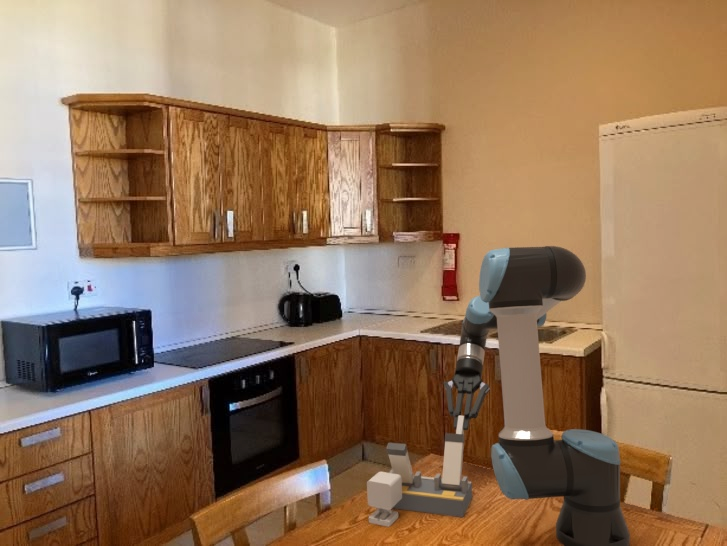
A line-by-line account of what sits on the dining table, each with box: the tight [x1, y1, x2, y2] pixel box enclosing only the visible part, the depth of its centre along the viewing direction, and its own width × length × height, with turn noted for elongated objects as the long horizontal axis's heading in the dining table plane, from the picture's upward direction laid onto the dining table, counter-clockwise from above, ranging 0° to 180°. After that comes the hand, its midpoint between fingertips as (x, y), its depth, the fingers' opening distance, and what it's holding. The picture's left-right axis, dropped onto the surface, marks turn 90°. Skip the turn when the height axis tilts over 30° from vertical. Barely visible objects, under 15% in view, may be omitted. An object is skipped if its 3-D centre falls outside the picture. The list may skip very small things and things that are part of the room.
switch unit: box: [388, 468, 473, 518], centre depth 158 cm, size 20×11×7 cm, turn 69°
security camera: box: [366, 471, 402, 528], centre depth 150 cm, size 6×7×10 cm
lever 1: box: [385, 442, 414, 485], centre depth 157 cm, size 5×2×13 cm, turn 69°
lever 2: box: [440, 432, 466, 490], centre depth 158 cm, size 5×2×13 cm, turn 69°
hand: (458, 440), depth 164 cm, fingers closed
